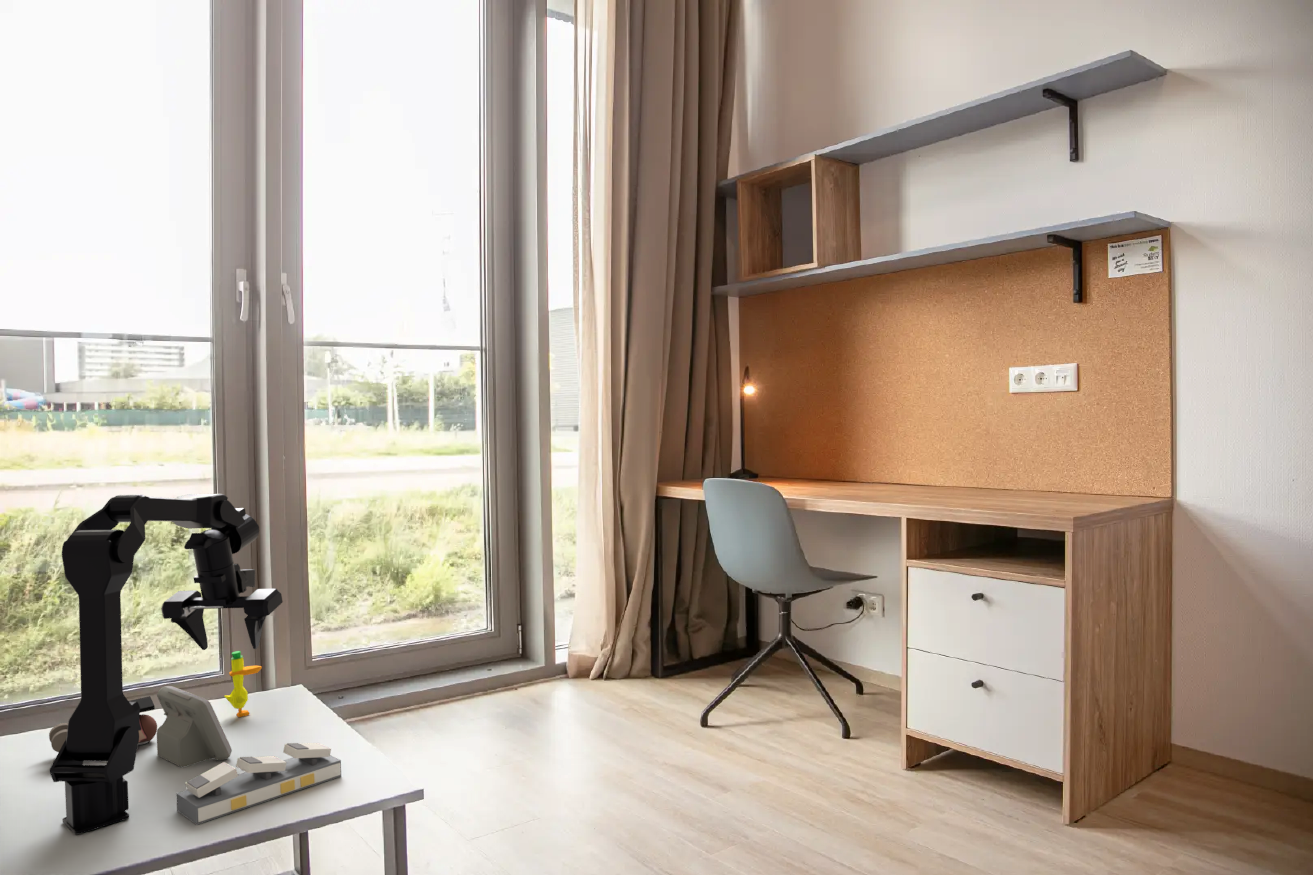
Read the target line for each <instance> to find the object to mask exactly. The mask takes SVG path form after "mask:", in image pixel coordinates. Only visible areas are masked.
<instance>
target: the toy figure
mask: <svg viewBox="0 0 1313 875" xmlns="http://www.w3.org/2000/svg"><path fill="white" fill-rule="evenodd" d="M231 656H232V657H231V658H230V660H231V671H229V672H228V674H229V676H230V677H232V682H233V689H232V691H231V692H230V694H229V695H223V697H224V698H225V699H226V700H227V701H228V703H229V704H230V705H231V706H232V707H233V708H234V709H235V710H238V712H237V713H236V716H237V718H241V717H246V716H250V712H249V710H247V709H243V708H244V707H245V705H246V704H247V702H248V700H249V697H248V696H249V693H248V692H249V691H248V690H247V689H246V688H245V686H244V679H245V678H244V677H245V676H249V675H253V674H258V673H259V672H260V671H261V670H262V667H263V666H261V665H247V666H245V662H244V655H242V652H241V650H236V651H233V652H231Z"/></svg>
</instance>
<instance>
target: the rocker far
mask: <svg viewBox="0 0 1313 875" xmlns="http://www.w3.org/2000/svg"><path fill="white" fill-rule="evenodd" d="M331 751H332V748H331V747H329V746H326V745H324V744H322V743H320V742H309V743H308V742H307V743H303V742H302V743H300V742H293V743H292V742H291V743H284V746H283V752H282V753H283V754H286V755H288V756H290V757H291V758H293V757H294V758H315V757H330V755H331Z"/></svg>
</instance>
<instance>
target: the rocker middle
mask: <svg viewBox="0 0 1313 875" xmlns="http://www.w3.org/2000/svg"><path fill="white" fill-rule="evenodd" d="M283 760H284V759H281V758H279V757H277V756H273V755H271V756H270V755H269V756H240V757H237V759H236V765H235V767H236V768H238V769H240V770H242V771H243V772H247V773H258V772H274V771H285V768H286V763H287V762H285V761H283Z"/></svg>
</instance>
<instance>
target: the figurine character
mask: <svg viewBox="0 0 1313 875" xmlns="http://www.w3.org/2000/svg"><path fill="white" fill-rule="evenodd" d="M128 701H129V702H138V704H139V706H140V713H142V714H140V716H139V720H140V726H141V731H139V742H138V746H142V745H146V744H147V743H149V742H150V741H152V740H153V739H154V737H155V736H156V735H157V730H158V724H157V721H156V720H155V718H154V717H152V716H151V715H149V714H144V712H148V711H152V710H155V708H156V707H155V704H154V702H153V699H152V698H151V696H150V695H149V696H144V697H141V698H135V699H131V700H128ZM67 729H68V722H61V723H57V724H56V725H54V726H53V727H51V729H50V730H49V732H48V738H49V742H50V744H51V748H52V750H53V751H54V752H56V753H59V751H60V749H61V747H62V745H63V743H64V742H65V740H66V738H67Z"/></svg>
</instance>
